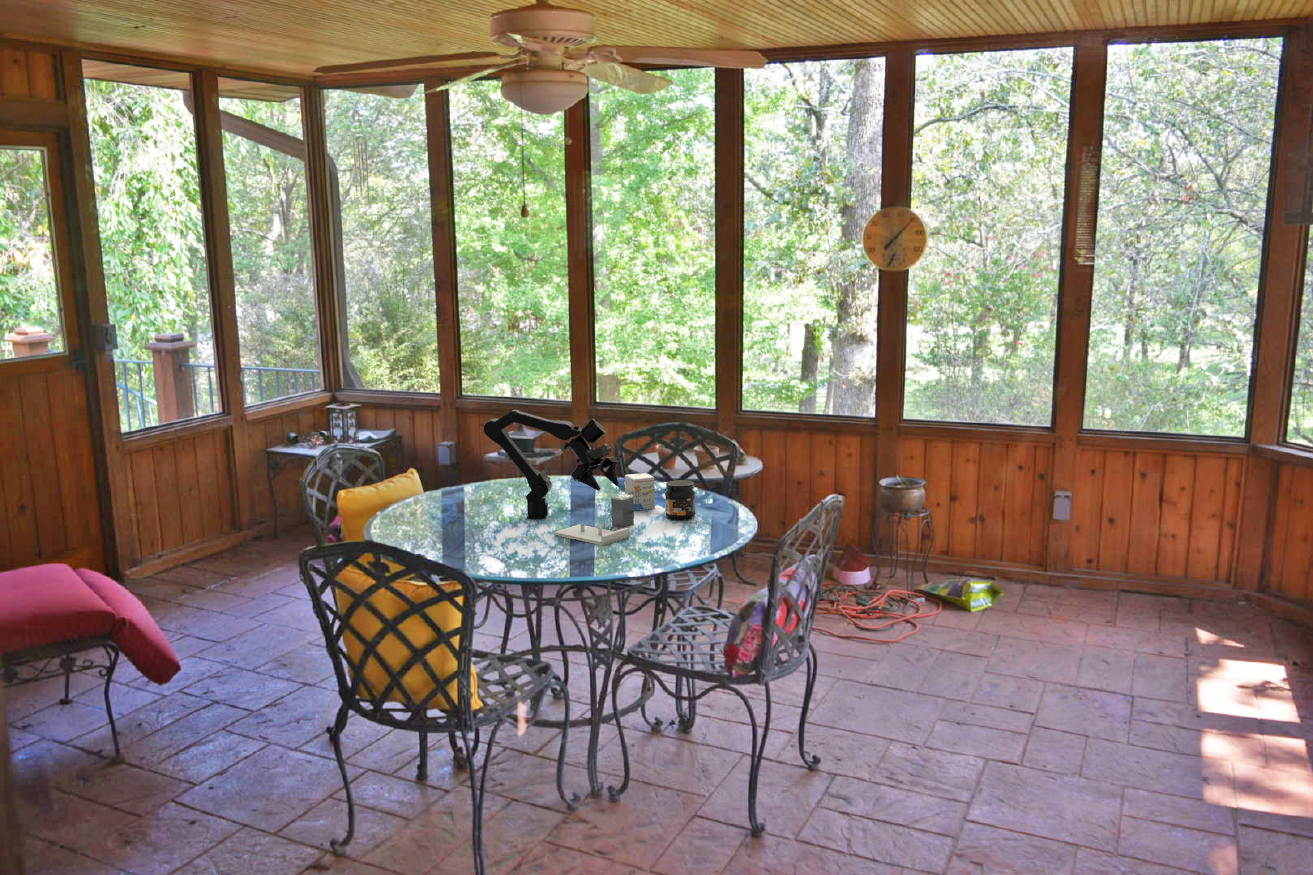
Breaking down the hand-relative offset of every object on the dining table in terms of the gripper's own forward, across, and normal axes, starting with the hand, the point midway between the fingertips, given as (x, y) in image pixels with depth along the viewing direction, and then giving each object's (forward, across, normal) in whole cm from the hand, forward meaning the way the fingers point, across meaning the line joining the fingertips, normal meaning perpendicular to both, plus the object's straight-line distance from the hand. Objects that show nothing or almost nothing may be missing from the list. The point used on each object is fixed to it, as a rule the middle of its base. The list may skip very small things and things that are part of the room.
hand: (608, 487), depth 361 cm
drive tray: (+13, -17, +4) cm, 22 cm away
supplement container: (+19, +20, -2) cm, 28 cm away
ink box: (+5, +22, +12) cm, 26 cm away
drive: (+13, 0, +4) cm, 14 cm away
